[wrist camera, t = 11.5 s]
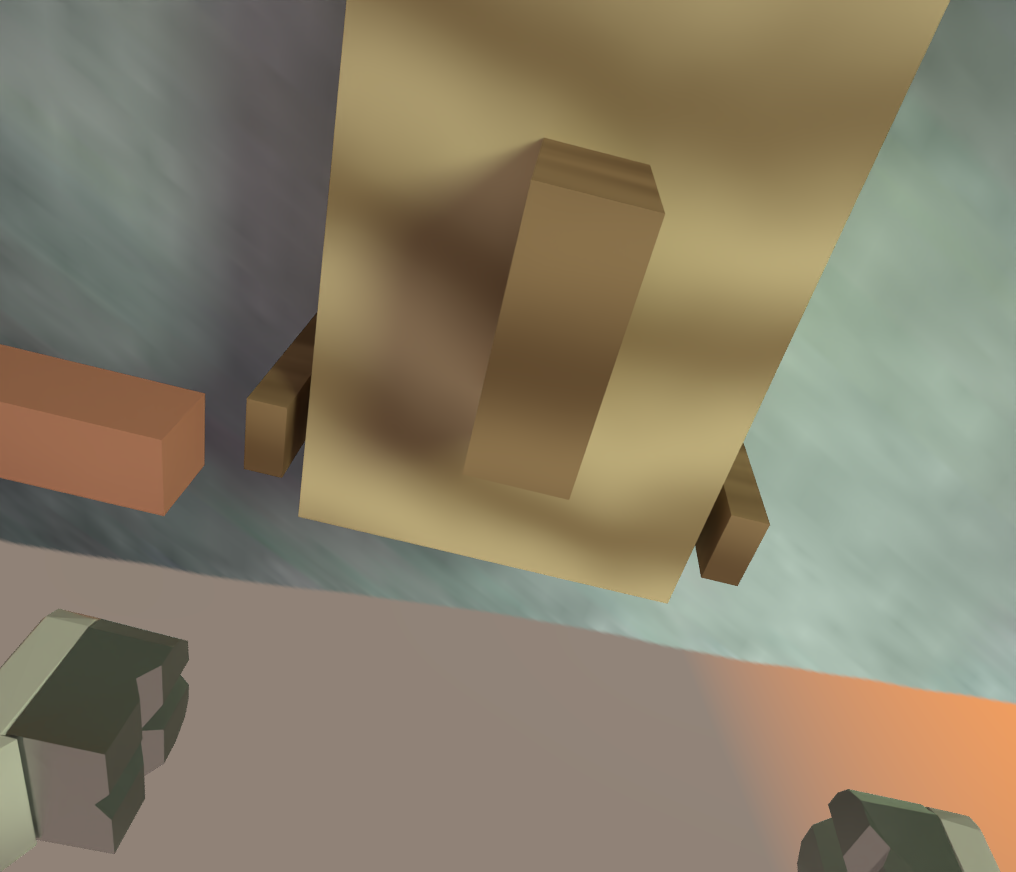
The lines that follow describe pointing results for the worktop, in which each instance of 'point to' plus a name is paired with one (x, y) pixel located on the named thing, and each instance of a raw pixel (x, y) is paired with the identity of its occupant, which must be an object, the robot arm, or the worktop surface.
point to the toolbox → (282, 432)
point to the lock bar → (97, 431)
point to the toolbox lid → (579, 261)
